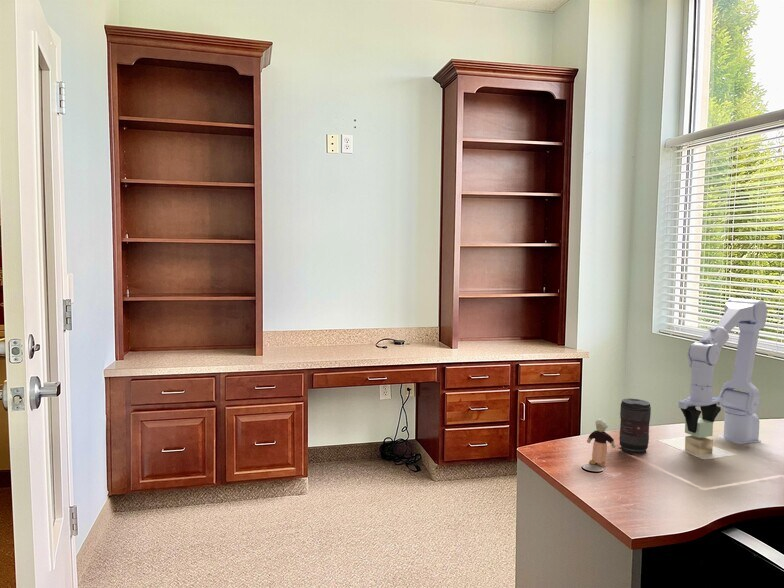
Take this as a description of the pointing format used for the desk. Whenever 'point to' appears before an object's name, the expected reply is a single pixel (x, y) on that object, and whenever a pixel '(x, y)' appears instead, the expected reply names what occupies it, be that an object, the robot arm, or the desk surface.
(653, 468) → the desk surface
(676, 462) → the desk surface
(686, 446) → the beech block
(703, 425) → the sage block
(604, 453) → the grandmother figurine
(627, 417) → the camera lens
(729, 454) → the plate
